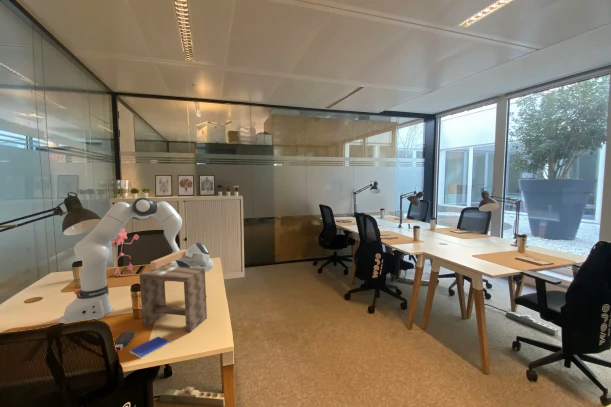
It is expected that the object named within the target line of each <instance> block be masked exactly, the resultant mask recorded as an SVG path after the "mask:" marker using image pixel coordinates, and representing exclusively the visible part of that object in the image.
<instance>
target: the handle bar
mask: <svg viewBox="0 0 611 407" xmlns="http://www.w3.org/2000/svg"><path fill="white" fill-rule="evenodd" d="M184 252H188V250H187V249H183V248H182V249H180V251H178V252H175V253H172V252H171V253H172V254H171V253H170V254H167V255H165V256H162V257H160V258H157V259H154V260H151V261H150V263H149V264H150V269H153V268H154V269H157V268H159V267H161V266H167V265H168V264H170V263H171V262H173V261H176V260H178V259H180V258H183V257H185V256H184V255H183V254H184Z"/></svg>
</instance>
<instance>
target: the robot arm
mask: <svg viewBox="0 0 611 407" xmlns="http://www.w3.org/2000/svg"><path fill="white" fill-rule="evenodd" d="M151 217H154V218H156V220H158V222H159V224H161V226H162V228H163V233H162V234H163V235H162V236H163V239H164V240H165V243H166V245H167V246H168V248H169V250H170V252H171V253H170V254H172V253H175V252H178V251H180V250H181V249H180V248H179V246H178V243H177V242H176V237H177V235H178V234H179V231H180V230H181V228H182V226H183V219H182V217H181V215H180V214H179V213H178V212H177V210H176V209H175V208H174V207H173V206H172V205H171V204H170V203H168V202H167V201H165V200H164V201H163V200H162V201H158V202H156V201H154V200H152V199H150V198H147V197H139V198H136V199H134V201H133V202H132V203H127V202H125V201H118V202H116V203H115V204H114V205H113V206H112V207H110V209H108V211H106V213H105V215H103V217H102V218H101V220H100V221H99V222H98V223H97V224H96V226H94V228H93V229H92V230H91V231H90V232H89V233H88V234H86V235H85V237H83V238H82V239H81V240H80V241H78V242H77V243H76V244H75V245H74V247H73V252H74V255H75V256H76V257H77V258H78V259H79V260H81V262H82V267H81V272H80V275H79V277H80V278H79V280H80V289H75V290H74V291H73V293H74V294H75V295H76V298H75V299H73V300H72V302H70V303H69V304H68V305H67V306H65V308H64V314H63V315H62V316H60V318H59V319H58V324H59V323H69V322H75V321H81V320H90V319H96V320H99V319H103V318H105V317H106V316H107V314H110V313H111V312H112V311H113V307H112V305H111V302H110V299H109V285H108V284H107V265H108V259H109V258H110V249H109V248H108V247H107V246H108V244H109V243H111V240H113V239H114V238H116V237H117V235H118V234H119V233H120V231H121V230H122V229H123V228H125V226H126V225H127V223H128V222H129V221H130V219H134V220H139V221H146V220H148V219H150V218H151ZM186 250H188V252H184V254H183V255H184V256H185V257H183V258H180V259H178V260H176V263H177V265H178V266H179V267H187V268H202V269H205V273H207V272H210V271H211V270H212V269H213V268H214V266H215V265H214V261H213V260H212V258H210V254H209V253H210V251H209V250H208V248H207V246H206V245H205V244H203V243H201V242H195V243H193V244H192V245H191V246H189V247H188V248H187V249H186Z"/></svg>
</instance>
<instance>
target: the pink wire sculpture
mask: <svg viewBox="0 0 611 407" xmlns="http://www.w3.org/2000/svg"><path fill="white" fill-rule="evenodd" d="M127 234H128V233H127V232H126V228H125V227H123V229H122V230H121V231H120V233H119V234H118V235H117V237H116V238H114V239H113V240H111V241H110V243H112V244H113V245H114V247H116V246H120V245H121V248H120V252H119V256H118V257H117V259H116V260H115V262H116V263H118V260H119V258H120V257H123V256H126V257H129V258H131V256H130V255H127V254H124V252H123V244H126V245H131V244H132V243H133V241H134V240H136V241H138V240H139V239H140V236H139V235H138V234H134V235H133V238H132V240H131V241H130V242H125V240H128V236H127ZM115 243H116V244H115ZM133 267H134V265H133V264H132V263H129V265H127V268H126V269H127V270H128V271H130V270H131V271H130V272H132V273H134V271H133ZM116 274H118V275H119V277H122V275H121V272H120V267H118V266H116V269H115V271H113V276H115V275H116Z"/></svg>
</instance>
